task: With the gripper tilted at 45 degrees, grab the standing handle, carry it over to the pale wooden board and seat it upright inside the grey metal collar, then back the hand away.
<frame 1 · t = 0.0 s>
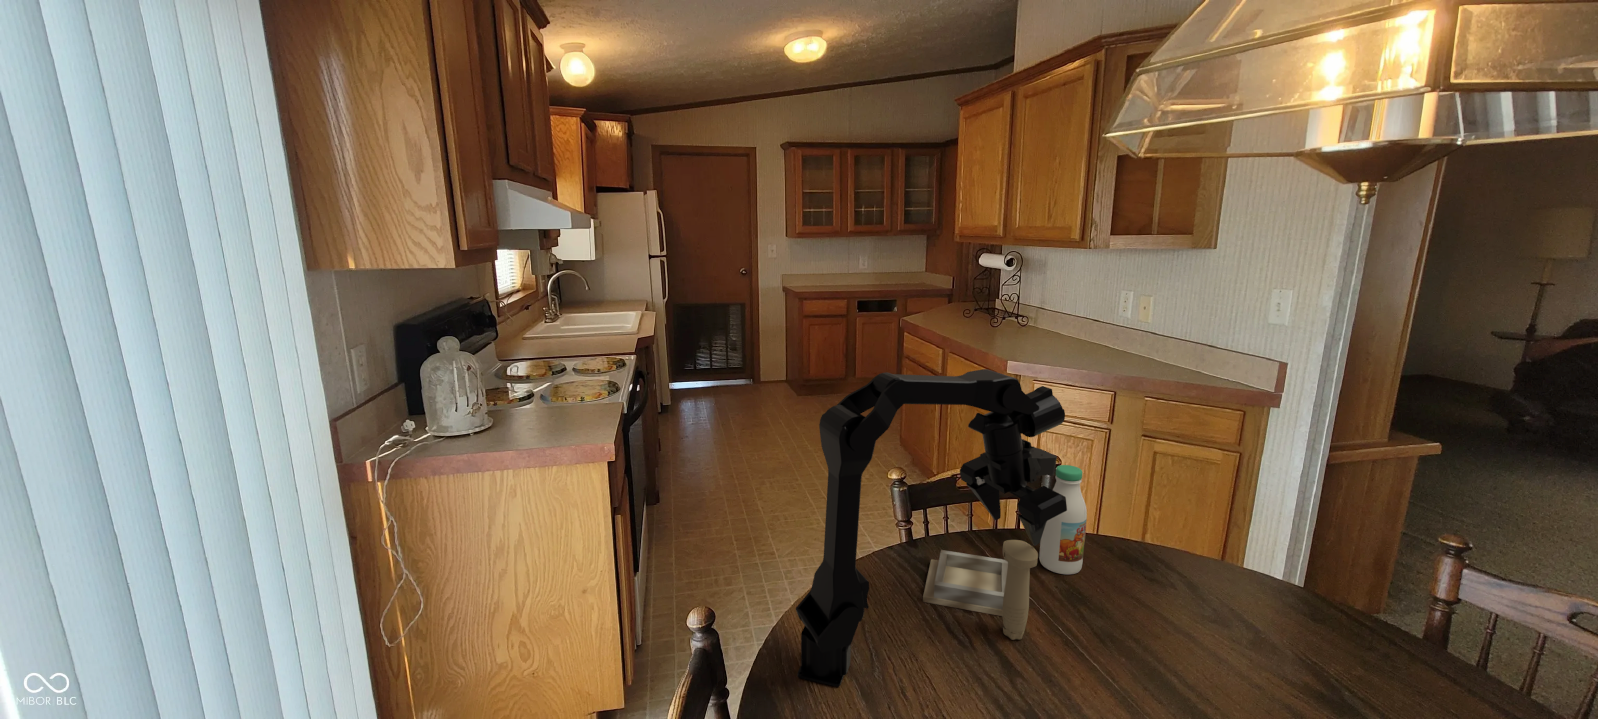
hand: (1016, 531, 101), 15 cm above the table, tool pointing down, fingers open, 9 cm apart
handle: (1013, 635, 99), on the table
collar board: (971, 589, 111), on the table
milk bottle: (1059, 565, 119), on the table
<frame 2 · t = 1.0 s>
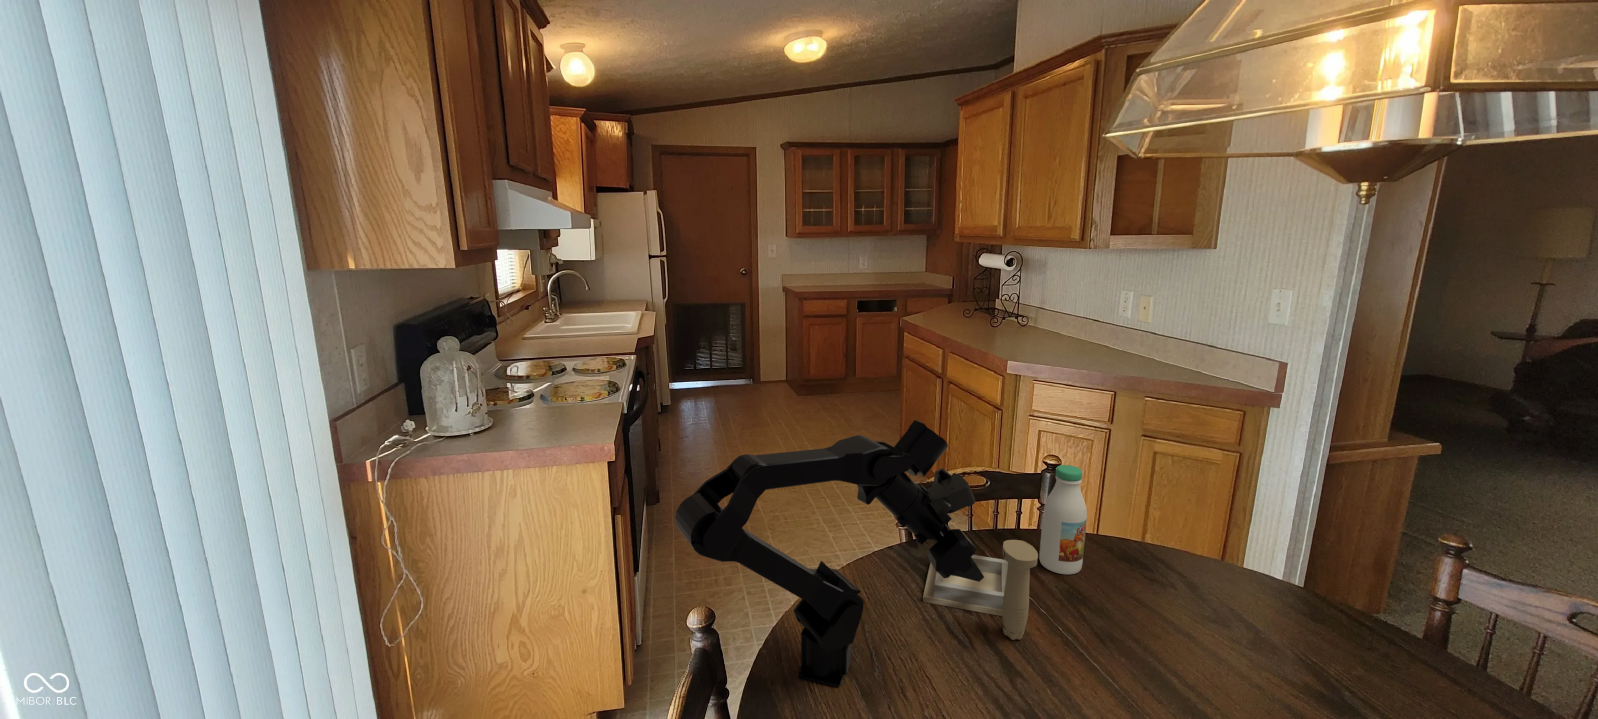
hand: (969, 562, 95), 13 cm above the table, tool tilted 45°, fingers open, 9 cm apart
nothing on the table moved.
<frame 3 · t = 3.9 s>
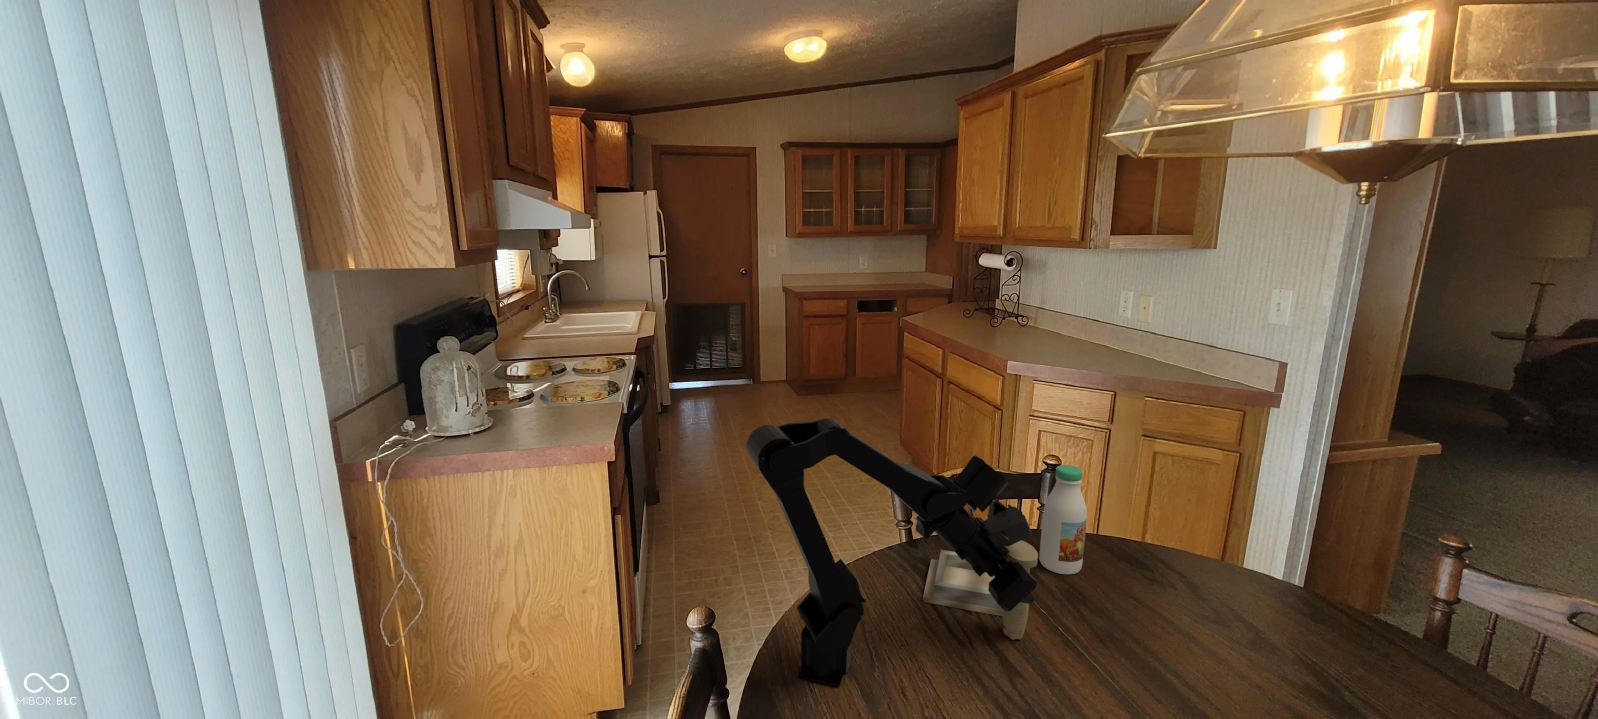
hand: (1025, 591, 97), 8 cm above the table, tool tilted 45°, fingers closed on handle, 5 cm apart
handle: (1013, 635, 99), on the table, touching gripper
everything else where it was.
when the fingers open (10 cm above the table, at t = 7.4 s): handle drops 1 cm, resting on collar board.
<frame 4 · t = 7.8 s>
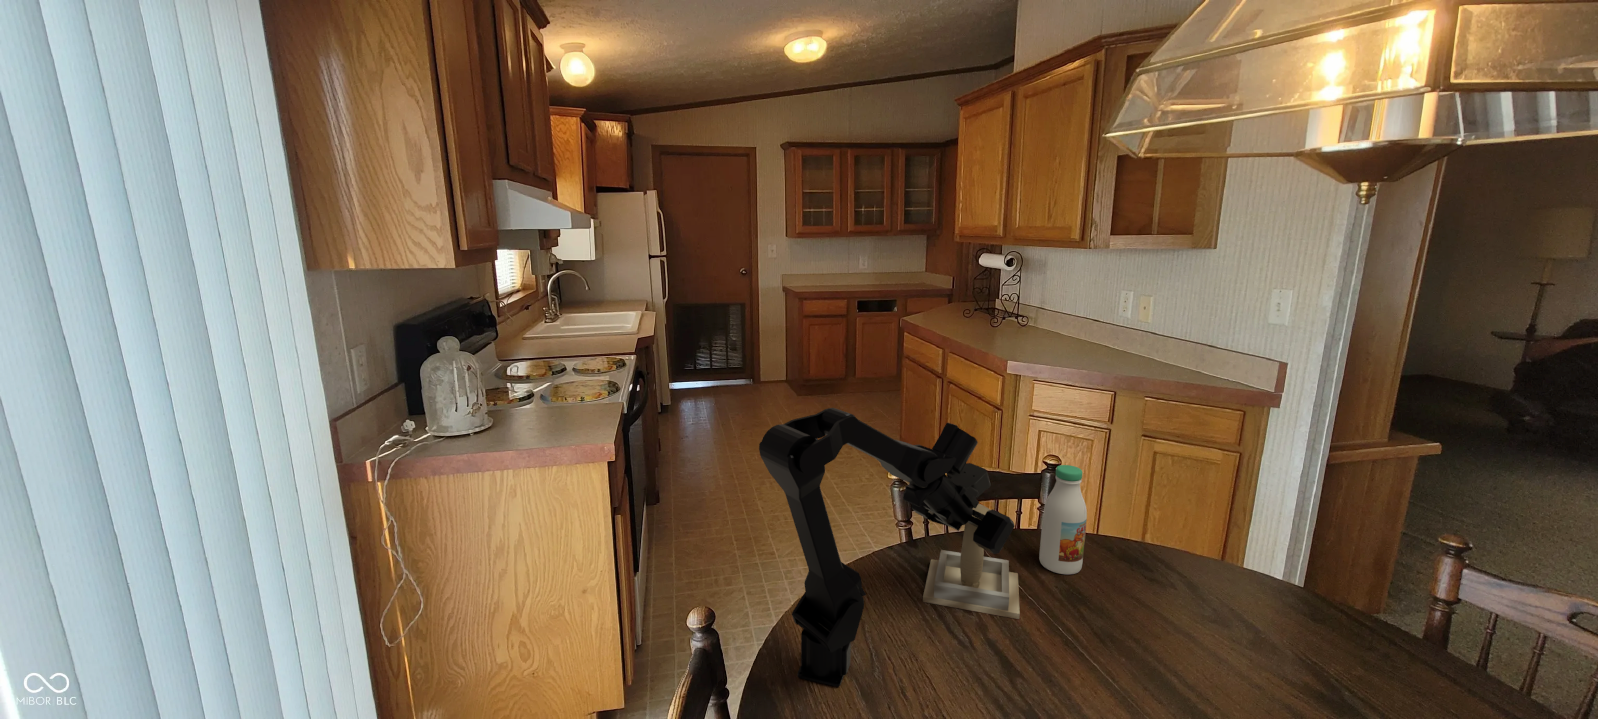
hand: (980, 536, 110), 10 cm above the table, tool tilted 45°, fingers open, 9 cm apart
handle: (969, 586, 111), point 1 cm above the table, touching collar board
everything else where it was.
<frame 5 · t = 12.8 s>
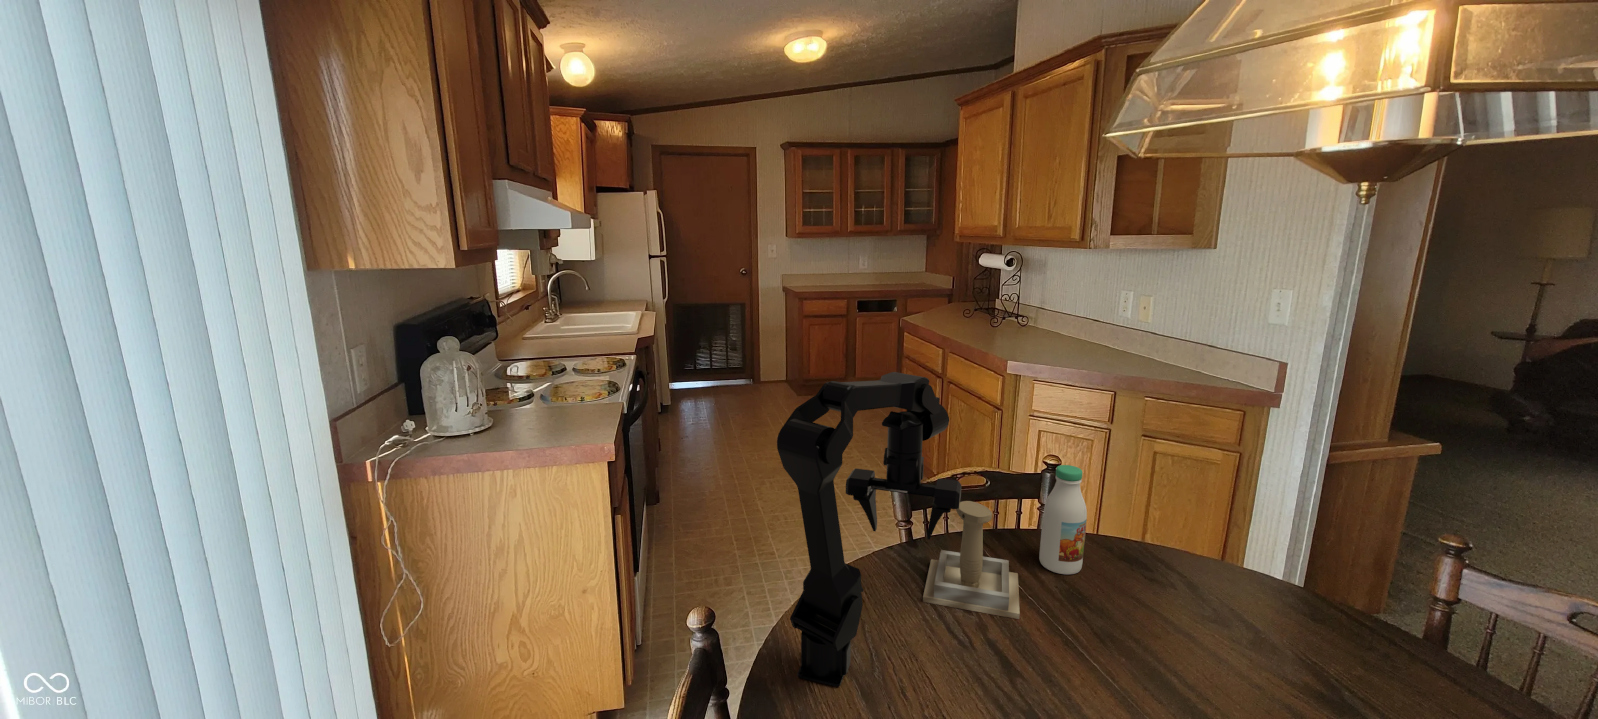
hand: (901, 534, 105), 13 cm above the table, tool pointing down, fingers open, 9 cm apart
nothing on the table moved.
at the end: handle 0.6 cm off-centre on the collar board, point 0.8 cm above the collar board's base; handle tilted 1°; the gripper is holding nothing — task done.
